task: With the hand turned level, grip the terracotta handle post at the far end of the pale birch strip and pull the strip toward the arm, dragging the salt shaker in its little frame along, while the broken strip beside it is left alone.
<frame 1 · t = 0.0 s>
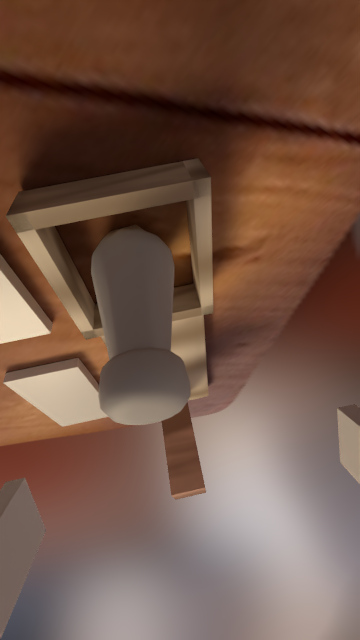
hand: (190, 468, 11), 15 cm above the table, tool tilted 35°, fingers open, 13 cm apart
broken strip: (32, 355, 27), on the table
birch strip: (164, 389, 23), point 7 cm above the table, slide at 0.0 cm
salt shaker: (131, 248, 20), resting in birch strip
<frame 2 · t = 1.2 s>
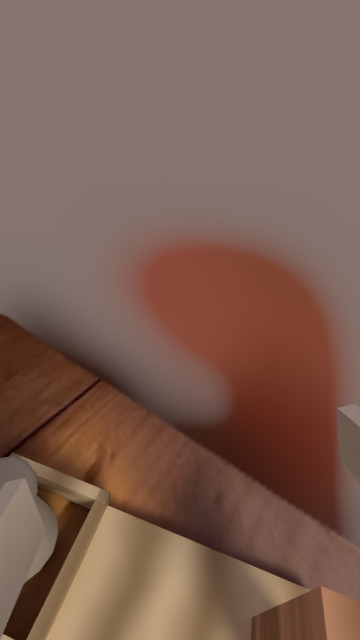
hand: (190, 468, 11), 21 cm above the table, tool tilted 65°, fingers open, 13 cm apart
birch strip: (134, 579, 18), point 7 cm above the table, slide at 0.0 cm
salt shaker: (24, 549, 24), resting in birch strip
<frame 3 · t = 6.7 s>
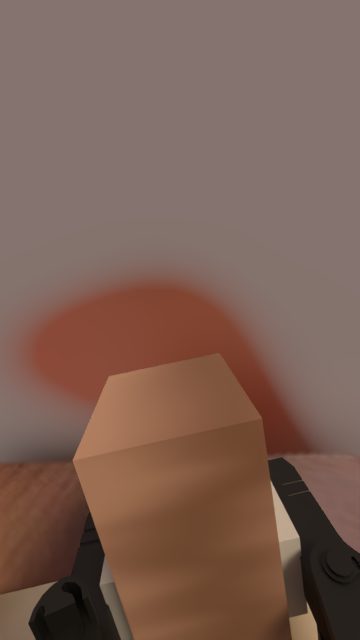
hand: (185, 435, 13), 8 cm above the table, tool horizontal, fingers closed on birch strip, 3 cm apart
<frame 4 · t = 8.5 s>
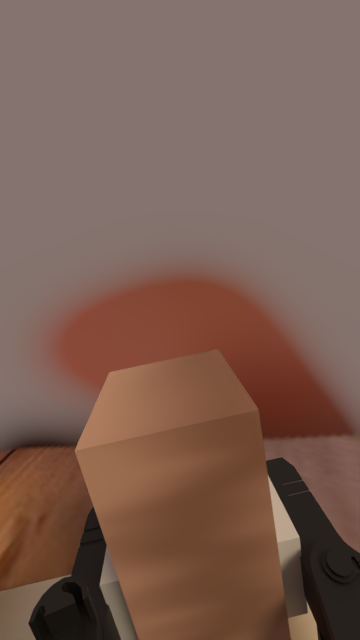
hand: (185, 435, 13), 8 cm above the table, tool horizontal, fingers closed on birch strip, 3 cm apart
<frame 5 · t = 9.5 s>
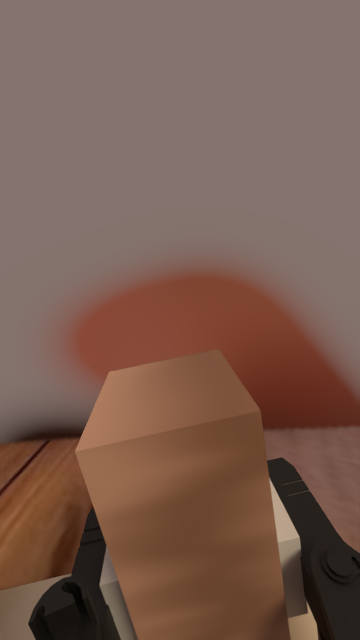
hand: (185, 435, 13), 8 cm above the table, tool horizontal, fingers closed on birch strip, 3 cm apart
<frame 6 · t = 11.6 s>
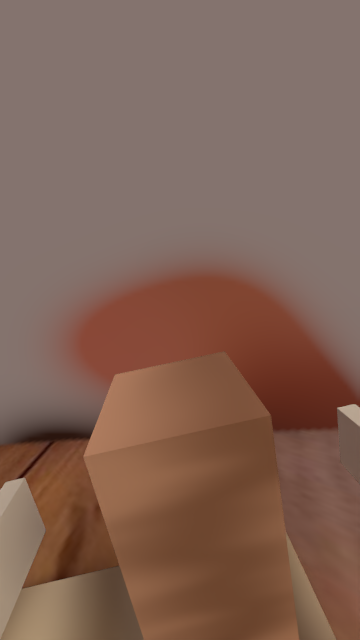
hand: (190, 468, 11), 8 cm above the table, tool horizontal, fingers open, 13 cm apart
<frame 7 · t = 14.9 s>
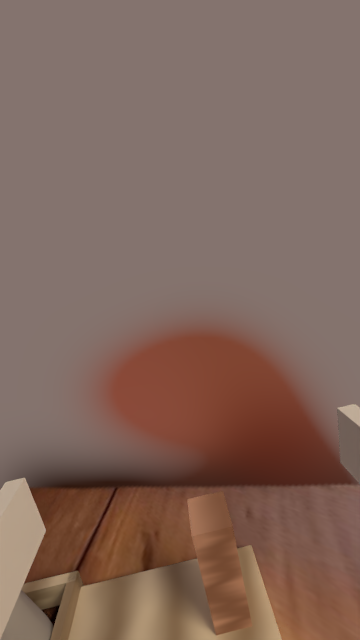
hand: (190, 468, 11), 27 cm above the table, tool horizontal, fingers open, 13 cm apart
birch strip: (99, 596, 25), point 7 cm above the table, slide at 10.8 cm
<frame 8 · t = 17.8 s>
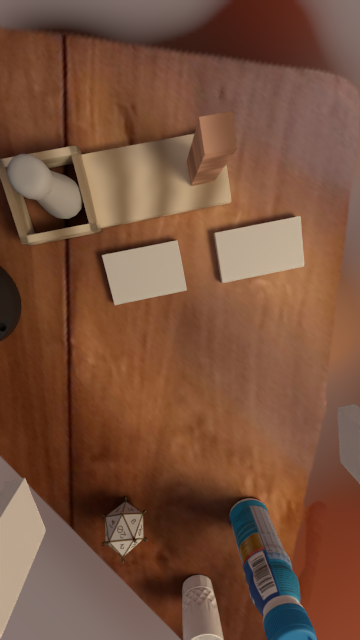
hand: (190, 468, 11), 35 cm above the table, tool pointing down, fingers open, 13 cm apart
game die: (127, 507, 53), on the table
beverage bottle: (247, 511, 56), on the table
white cup: (196, 584, 59), on the table
broken strip: (205, 260, 43), on the table
birch strip: (116, 174, 33), point 7 cm above the table, slide at 10.8 cm
salt shaker: (67, 201, 40), resting in birch strip
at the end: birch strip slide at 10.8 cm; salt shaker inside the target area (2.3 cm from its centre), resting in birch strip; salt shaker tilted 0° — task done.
